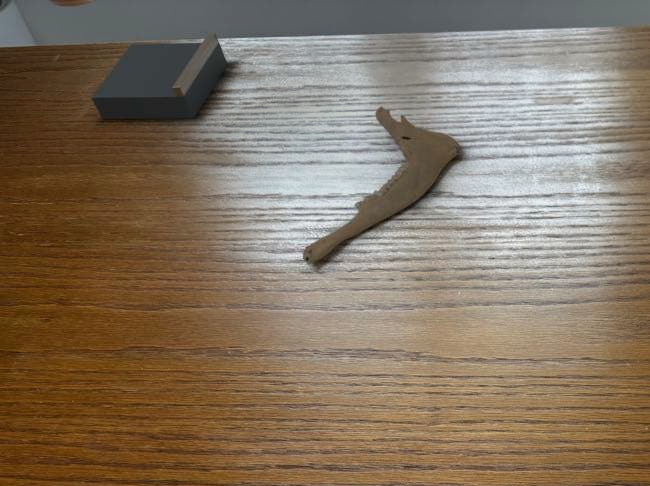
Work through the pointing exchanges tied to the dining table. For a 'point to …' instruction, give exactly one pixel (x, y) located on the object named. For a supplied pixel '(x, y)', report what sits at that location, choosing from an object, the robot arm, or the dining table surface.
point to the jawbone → (395, 180)
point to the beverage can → (70, 2)
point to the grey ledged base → (161, 80)
